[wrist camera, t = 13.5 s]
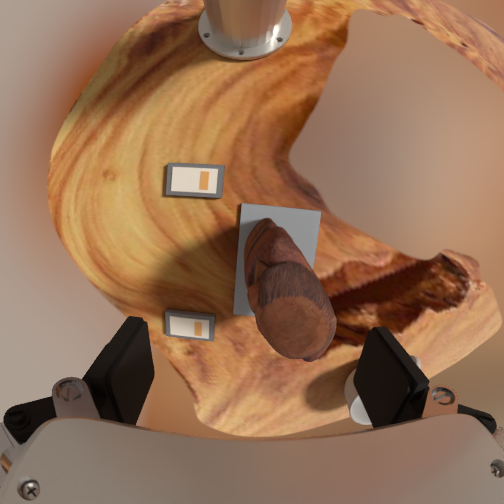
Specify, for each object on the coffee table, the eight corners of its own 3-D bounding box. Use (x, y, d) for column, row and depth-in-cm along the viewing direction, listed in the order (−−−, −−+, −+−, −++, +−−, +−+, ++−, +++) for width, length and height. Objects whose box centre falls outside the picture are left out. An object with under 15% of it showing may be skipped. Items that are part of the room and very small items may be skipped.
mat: (241, 203, 34) (241, 203, 33) (319, 211, 34) (321, 211, 34) (233, 312, 38) (232, 314, 37) (303, 316, 38) (304, 318, 38)
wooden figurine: (228, 235, 34) (210, 292, 17) (272, 209, 34) (301, 239, 16) (275, 308, 37) (295, 403, 20) (316, 285, 36) (366, 366, 19)
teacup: (352, 404, 44) (364, 433, 36) (327, 374, 41) (339, 407, 33) (412, 362, 42) (432, 387, 34) (396, 327, 39) (419, 352, 32)
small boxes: (170, 163, 32) (167, 162, 31) (224, 165, 33) (224, 165, 31) (168, 332, 38) (165, 336, 37) (214, 337, 39) (213, 342, 37)
